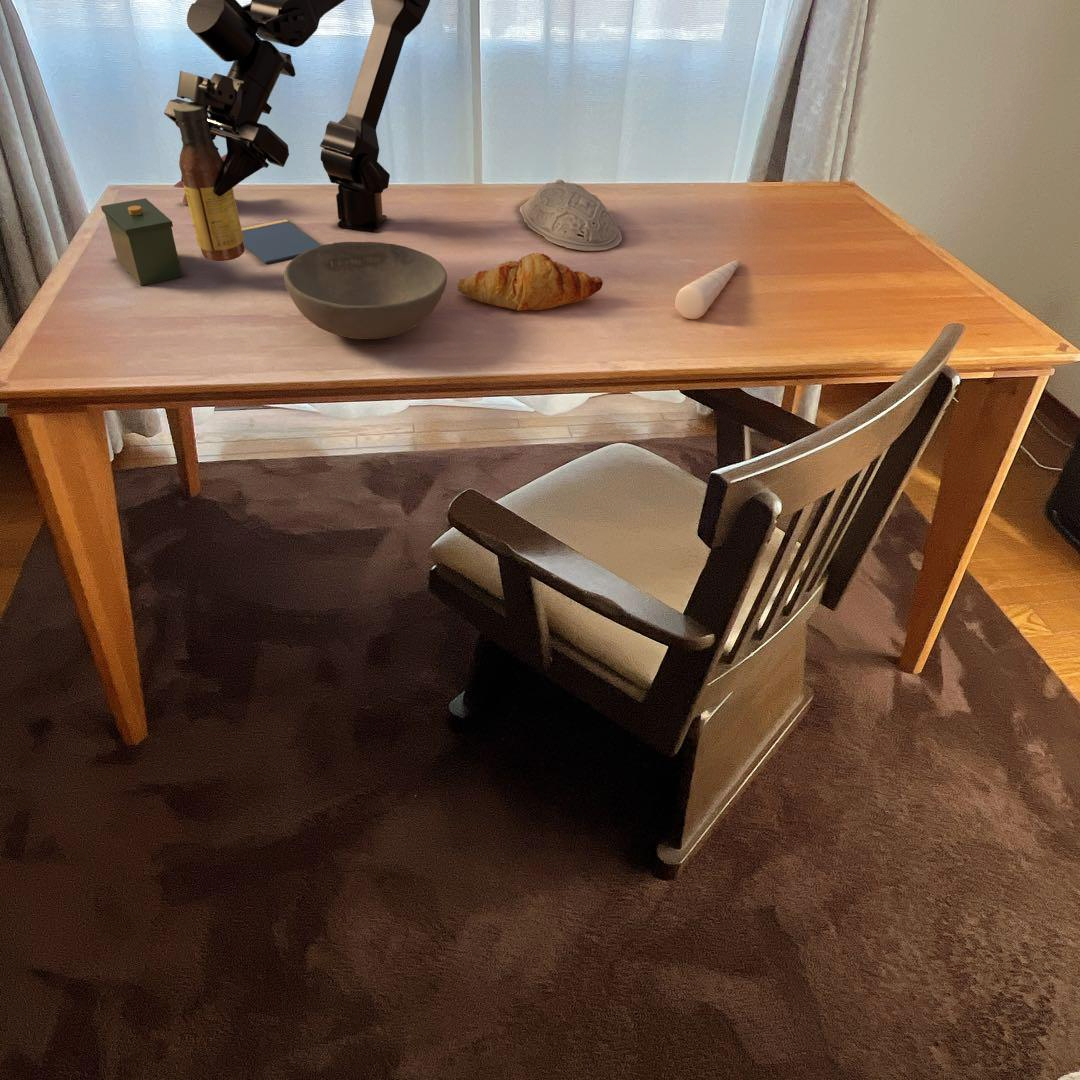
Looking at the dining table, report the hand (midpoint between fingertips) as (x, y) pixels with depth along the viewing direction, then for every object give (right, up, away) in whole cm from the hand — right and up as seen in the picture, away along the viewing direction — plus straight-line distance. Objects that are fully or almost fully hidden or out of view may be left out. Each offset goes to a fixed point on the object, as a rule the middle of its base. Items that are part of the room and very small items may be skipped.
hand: (200, 188), depth 119 cm
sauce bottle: (0, -7, +7) cm, 10 cm away
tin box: (-12, -8, +11) cm, 17 cm away
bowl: (+23, -18, +1) cm, 29 cm away
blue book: (+4, 0, +20) cm, 21 cm away
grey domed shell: (+51, +7, +33) cm, 62 cm away
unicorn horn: (+72, -10, +15) cm, 74 cm away
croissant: (+45, -12, +10) cm, 47 cm away
